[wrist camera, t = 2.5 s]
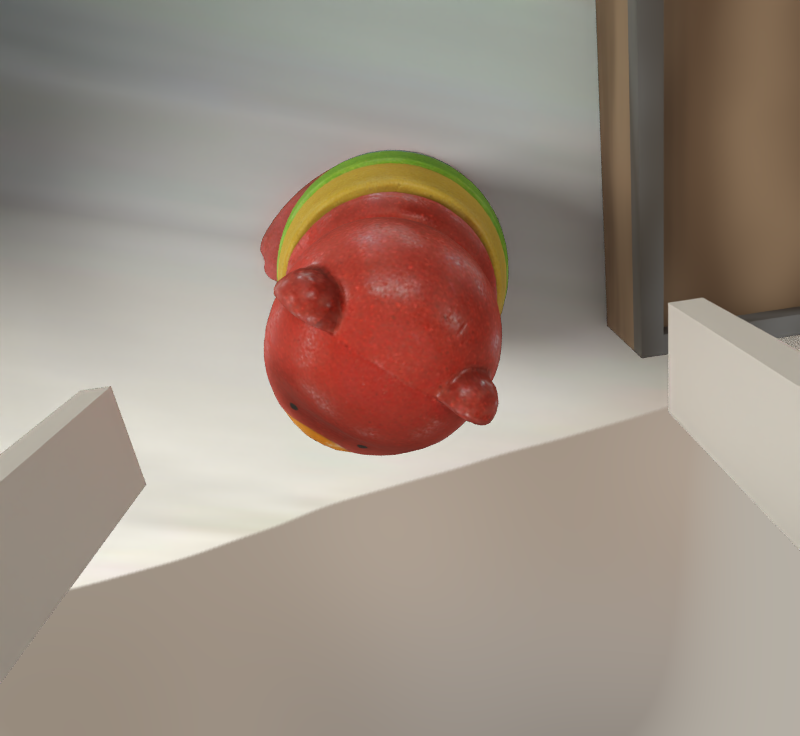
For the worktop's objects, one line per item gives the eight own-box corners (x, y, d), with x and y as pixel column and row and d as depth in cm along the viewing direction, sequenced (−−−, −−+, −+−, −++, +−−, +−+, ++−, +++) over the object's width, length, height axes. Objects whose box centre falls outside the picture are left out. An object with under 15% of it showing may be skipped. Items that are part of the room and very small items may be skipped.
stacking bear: (246, 257, 32) (81, 401, 15) (367, 92, 29) (327, 43, 12) (407, 379, 34) (417, 617, 18) (532, 238, 31) (686, 363, 15)
